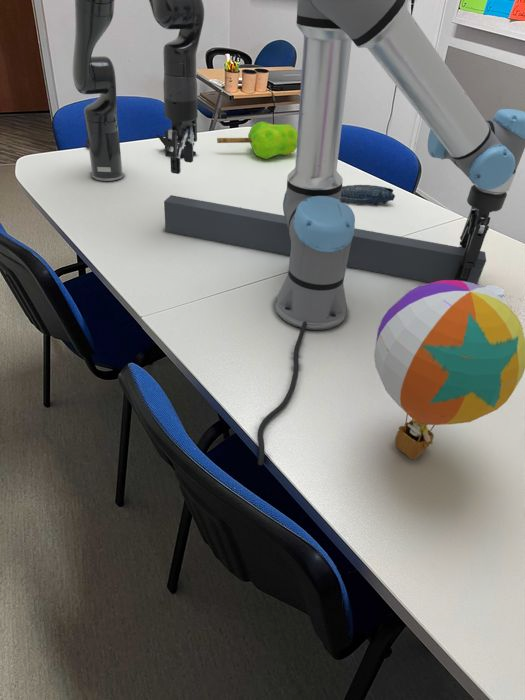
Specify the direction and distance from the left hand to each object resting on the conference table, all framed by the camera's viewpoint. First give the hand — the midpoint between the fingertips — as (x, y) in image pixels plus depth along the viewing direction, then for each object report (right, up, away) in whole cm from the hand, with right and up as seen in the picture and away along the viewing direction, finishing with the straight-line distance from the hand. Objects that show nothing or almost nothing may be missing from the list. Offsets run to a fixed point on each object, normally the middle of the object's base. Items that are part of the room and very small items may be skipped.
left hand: (182, 167), depth 127 cm
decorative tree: (+18, +27, +62) cm, 70 cm away
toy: (+43, -61, -44) cm, 87 cm away
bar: (+33, -21, +5) cm, 39 cm away
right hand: (+67, -28, -1) cm, 73 cm away
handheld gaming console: (-11, +25, +58) cm, 64 cm away
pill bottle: (+67, -39, -14) cm, 79 cm away
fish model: (+50, +2, +36) cm, 61 cm away
